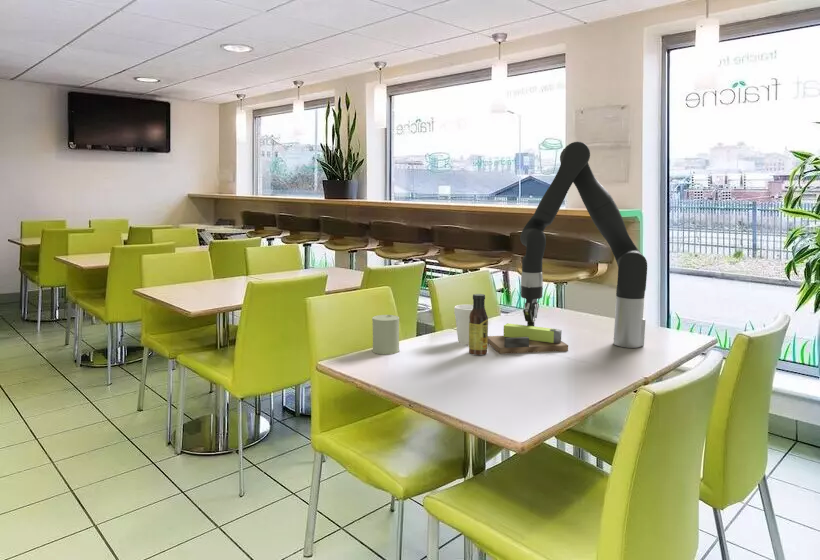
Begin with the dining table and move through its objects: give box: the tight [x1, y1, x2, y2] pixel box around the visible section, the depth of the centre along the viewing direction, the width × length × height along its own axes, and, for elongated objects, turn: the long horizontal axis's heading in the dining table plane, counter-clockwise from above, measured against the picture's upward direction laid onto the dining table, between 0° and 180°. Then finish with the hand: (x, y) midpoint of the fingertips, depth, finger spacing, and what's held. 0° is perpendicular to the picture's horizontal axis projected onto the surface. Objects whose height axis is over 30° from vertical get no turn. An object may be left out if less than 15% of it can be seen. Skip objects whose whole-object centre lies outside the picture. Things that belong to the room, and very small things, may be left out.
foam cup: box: [453, 304, 473, 346], centre depth 203 cm, size 10×9×13 cm
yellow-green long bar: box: [503, 323, 562, 343], centre depth 200 cm, size 20×4×4 cm, turn 61°
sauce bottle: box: [468, 293, 489, 356], centre depth 189 cm, size 7×6×20 cm
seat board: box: [488, 335, 569, 355], centre depth 199 cm, size 24×16×5 cm, turn 99°
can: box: [371, 314, 400, 355], centre depth 193 cm, size 9×9×12 cm
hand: (530, 331), depth 205 cm, fingers closed
